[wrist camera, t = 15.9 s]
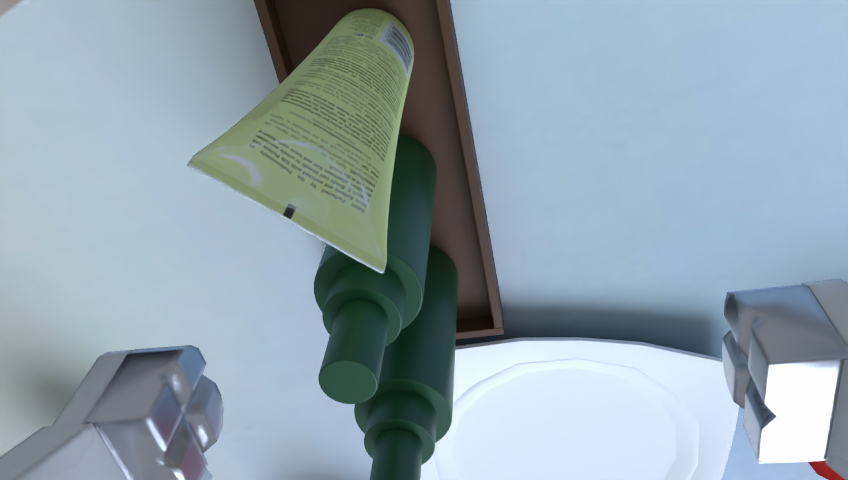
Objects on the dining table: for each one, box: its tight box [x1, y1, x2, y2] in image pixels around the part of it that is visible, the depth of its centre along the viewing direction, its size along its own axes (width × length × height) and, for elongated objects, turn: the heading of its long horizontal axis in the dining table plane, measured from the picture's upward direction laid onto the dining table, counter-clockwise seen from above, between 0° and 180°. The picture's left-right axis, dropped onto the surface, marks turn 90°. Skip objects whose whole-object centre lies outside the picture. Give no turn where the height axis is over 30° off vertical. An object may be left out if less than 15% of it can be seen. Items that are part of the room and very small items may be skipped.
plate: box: [420, 337, 739, 480], centre depth 55 cm, size 24×24×3 cm
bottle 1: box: [314, 135, 437, 404], centre depth 36 cm, size 5×5×19 cm
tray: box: [254, 0, 504, 339], centre depth 44 cm, size 25×10×2 cm, turn 11°
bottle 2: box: [354, 246, 458, 480], centre depth 40 cm, size 5×5×19 cm
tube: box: [187, 8, 414, 273], centre depth 32 cm, size 6×5×20 cm
